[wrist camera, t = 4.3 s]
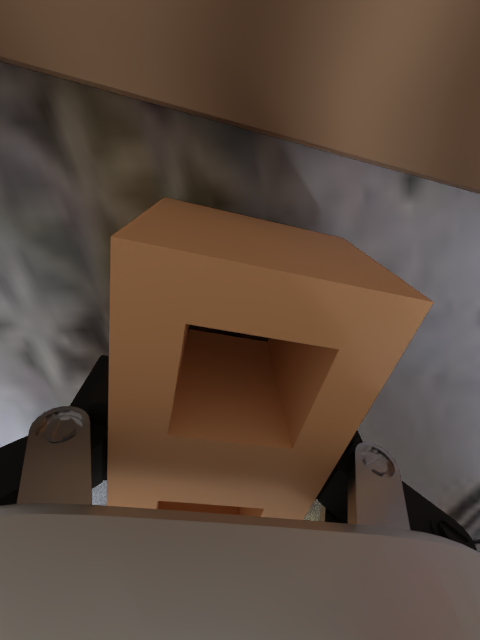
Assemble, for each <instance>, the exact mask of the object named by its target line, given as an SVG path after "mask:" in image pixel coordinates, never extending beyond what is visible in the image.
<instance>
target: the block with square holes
mask: <svg viewBox="0 0 480 640" xmlns="http://www.w3.org/2000/svg"><path fill="white" fill-rule="evenodd" d="M433 303H434V302H433V301H431V300H430V299H428V298H427V297H426V296H424V295H423V294H421V293H420V292H419V291H417V290H416V289H414V288H413V287H411V286H410V285H409V284H407V283H406V282H404V281H403V280H402V279H400V278H399V277H397V276H396V275H394V274H393V273H392V272H390V271H389V270H387V269H386V268H385V267H383V266H382V265H380V264H379V263H377V262H376V261H375V260H373V259H372V258H370V257H369V256H368V255H366V254H365V253H363V252H362V251H361V250H359V249H358V248H356V247H355V246H353V245H352V244H351V243H349V242H348V241H346V240H345V239H344V238H341V237H336V236H332V235H328V234H323V233H319V232H315V231H310V230H306V229H302V228H297V227H293V226H288V225H284V224H280V223H275V222H271V221H267V220H262V219H258V218H253V217H249V216H245V215H240V214H236V213H232V212H227V211H223V210H219V209H214V208H210V207H205V206H201V205H197V204H192V203H188V202H184V201H179V200H175V199H171V198H166V197H164V198H163V199H161V200H160V201H159V202H157V203H156V204H154V205H153V206H152V207H150V208H149V209H148V210H146V211H145V212H143V213H142V214H141V215H139V216H138V217H137V218H135V219H134V220H132V221H131V222H130V223H128V224H127V225H126V226H124V227H123V228H121V229H120V230H119V231H117V232H116V233H115V234H113V235H112V236H111V248H110V318H109V389H108V460H107V506H120V507H134V508H148V509H162V510H177V511H191V512H205V513H218V514H231V515H245V516H258V517H271V518H284V519H297V520H303V519H304V517H305V516H306V514H307V512H308V511H309V509H310V507H311V506H312V504H313V502H314V501H315V499H316V497H317V496H318V494H319V492H320V491H321V489H322V487H323V486H324V484H325V482H326V481H327V479H328V477H329V476H330V474H331V472H332V471H333V469H334V467H335V466H336V464H337V462H338V461H339V459H340V457H341V456H342V454H343V452H344V451H345V449H346V447H347V446H348V444H349V442H350V441H351V439H352V437H353V436H354V434H355V432H356V431H357V429H358V427H359V426H360V424H361V422H362V421H363V419H364V417H365V416H366V414H367V412H368V411H369V409H370V407H371V406H372V404H373V402H374V401H375V399H376V398H377V396H378V394H379V393H380V391H381V389H382V388H383V386H384V384H385V383H386V381H387V379H388V378H389V376H390V374H391V373H392V371H393V369H394V368H395V366H396V364H397V363H398V361H399V359H400V358H401V356H402V354H403V353H404V351H405V349H406V348H407V346H408V344H409V343H410V341H411V339H412V338H413V336H414V334H415V333H416V331H417V329H418V328H419V326H420V324H421V323H422V321H423V319H424V318H425V316H426V314H427V313H428V311H429V309H430V308H431V306H432V304H433ZM190 325H195V326H201V327H207V328H213V329H219V330H225V331H231V332H237V333H243V334H249V335H255V336H261V337H267V338H269V339H268V342H265V341H259V340H253V339H246V338H240V337H234V336H228V335H222V334H216V333H210V332H204V331H198V330H192V329H189V326H190Z"/></svg>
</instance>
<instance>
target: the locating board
mask: <svg viewBox="0 0 480 640" xmlns="http://www.w3.org/2000/svg"><path fill="white" fill-rule="evenodd" d="M0 61H1V62H5V63H8V64H12V65H15V66H19V67H23V68H26V69H30V70H33V71H37V72H41V73H44V74H48V75H52V76H55V77H59V78H62V79H66V80H70V81H73V82H77V83H81V84H84V85H88V86H91V87H95V88H99V89H102V90H106V91H109V92H113V93H117V94H120V95H124V96H128V97H131V98H135V99H138V100H142V101H146V102H149V103H153V104H157V105H160V106H164V107H167V108H171V109H175V110H178V111H182V112H186V113H189V114H193V115H196V116H200V117H204V118H207V119H211V120H214V121H218V122H222V123H225V124H229V125H233V126H236V127H240V128H243V129H247V130H251V131H254V132H258V133H262V134H265V135H269V136H272V137H276V138H280V139H283V140H287V141H290V142H294V143H298V144H301V145H305V146H309V147H312V148H316V149H319V150H323V151H327V152H330V153H334V154H338V155H341V156H345V157H348V158H352V159H356V160H359V161H363V162H367V163H370V164H374V165H377V166H381V167H385V168H388V169H392V170H395V171H399V172H403V173H406V174H410V175H414V176H417V177H421V178H424V179H428V180H432V181H435V182H439V183H443V184H446V185H450V186H453V187H457V188H461V189H464V190H468V191H471V192H475V193H479V194H480V0H0Z"/></svg>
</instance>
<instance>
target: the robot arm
mask: <svg viewBox="0 0 480 640" xmlns="http://www.w3.org/2000/svg"><path fill="white" fill-rule="evenodd" d="M108 389H109V356H105V355H102V356H101V357H100V358H99V359H98V361H97V362H96V364H95V366H94V367H93V369H92V371H91V372H90V374H89V376H88V377H87V379H86V380H85V382H84V384H83V385H82V387H81V389H80V390H79V392H78V393H77V395H76V397H75V398H74V400H73V402H72V403H71V405H70V406H62V407H58V408H53V409H51V410H49V411H47V412H44V413H43V414H42V415H40V416H39V417H37V419H36V420H35V421H34V422H33V423H32V425H31V427H30V430H29V435H28V436H26V437H24V438H21V439H19V440H17V441H14V442H12V443H10V444H8V445H5V446H3V447H1V448H0V640H480V543H478V544H475V543H474V542H473V540H472V539H471V537H470V535H469V534H468V533H467V532H466V531H465V530H464V528H463V527H462V526H461V525H459V524H458V523H457V522H456V521H455V520H454V519H452V518H451V517H450V516H448V515H447V514H446V513H444V512H443V511H442V510H440V509H439V508H438V507H436V506H435V505H434V504H432V503H431V502H430V501H428V500H427V499H426V498H424V497H423V496H422V495H420V494H419V493H418V492H416V491H415V490H413V489H412V488H411V487H409V486H408V485H407V484H405V483H404V482H403V481H401V475H400V470H399V467H398V464H397V463H396V461H395V460H394V458H393V457H392V456H391V455H390V454H389V453H388V452H387V451H386V450H384V449H383V448H381V447H380V446H378V445H376V444H373V443H370V442H363V441H362V439H361V437H360V435H359V433H358V431H356V432H355V434H354V436H353V437H352V439H351V441H350V442H349V444H348V446H347V447H346V449H345V451H344V452H343V454H342V456H341V457H340V459H339V461H338V462H337V464H336V466H335V467H334V469H333V471H332V472H331V474H330V476H329V477H328V479H327V481H326V482H325V484H324V486H323V487H322V489H321V491H320V492H319V494H318V496H317V497H316V499H318V501H319V502H320V503H321V508H320V520H319V521H309V520H297V519H284V518H271V517H258V516H245V515H231V514H218V513H205V512H191V511H177V510H162V509H148V508H134V507H120V506H101V505H92V488H94V487H95V486H97V485H99V484H100V483H102V481H103V480H107V460H108Z"/></svg>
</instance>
